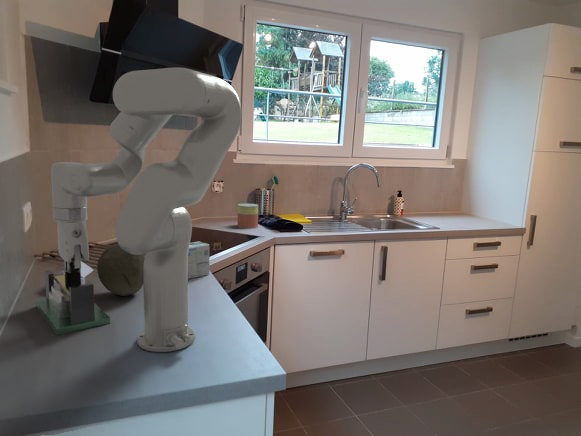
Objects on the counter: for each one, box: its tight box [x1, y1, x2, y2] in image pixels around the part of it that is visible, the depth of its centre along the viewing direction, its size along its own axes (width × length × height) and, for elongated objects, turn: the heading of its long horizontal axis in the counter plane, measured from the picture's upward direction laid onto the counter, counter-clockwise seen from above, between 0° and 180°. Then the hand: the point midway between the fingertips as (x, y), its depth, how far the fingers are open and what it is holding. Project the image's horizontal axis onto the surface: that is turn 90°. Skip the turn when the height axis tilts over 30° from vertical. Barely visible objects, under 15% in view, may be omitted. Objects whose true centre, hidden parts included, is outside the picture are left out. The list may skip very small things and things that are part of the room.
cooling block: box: [35, 269, 111, 336], centre depth 114 cm, size 22×12×10 cm, turn 40°
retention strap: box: [53, 272, 82, 296], centre depth 114 cm, size 19×4×2 cm, turn 40°
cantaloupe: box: [96, 243, 145, 297], centre depth 130 cm, size 14×14×15 cm
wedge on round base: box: [54, 261, 94, 290], centre depth 136 cm, size 9×7×13 cm
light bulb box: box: [188, 240, 210, 280], centre depth 151 cm, size 11×7×11 cm, turn 134°
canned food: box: [236, 203, 259, 230], centre depth 243 cm, size 11×11×12 cm
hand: (73, 286), depth 110 cm, fingers closed
